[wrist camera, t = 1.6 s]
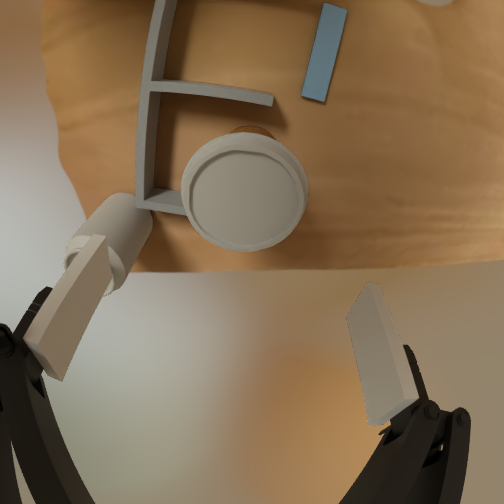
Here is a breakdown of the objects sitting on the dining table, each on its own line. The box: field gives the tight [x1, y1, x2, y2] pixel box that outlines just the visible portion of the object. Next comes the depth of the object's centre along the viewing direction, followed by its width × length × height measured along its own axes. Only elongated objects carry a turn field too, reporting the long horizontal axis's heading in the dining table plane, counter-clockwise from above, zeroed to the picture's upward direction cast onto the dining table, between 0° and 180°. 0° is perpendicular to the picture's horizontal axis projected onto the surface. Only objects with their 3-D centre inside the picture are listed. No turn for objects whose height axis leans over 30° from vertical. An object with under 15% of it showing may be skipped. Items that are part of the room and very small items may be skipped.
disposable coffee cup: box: [181, 126, 309, 252], centre depth 25 cm, size 10×10×12 cm
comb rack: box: [135, 0, 274, 216], centre depth 24 cm, size 27×12×4 cm, turn 169°
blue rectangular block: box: [301, 3, 347, 102], centre depth 22 cm, size 11×2×1 cm, turn 169°
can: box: [64, 192, 153, 296], centre depth 30 cm, size 8×8×12 cm
